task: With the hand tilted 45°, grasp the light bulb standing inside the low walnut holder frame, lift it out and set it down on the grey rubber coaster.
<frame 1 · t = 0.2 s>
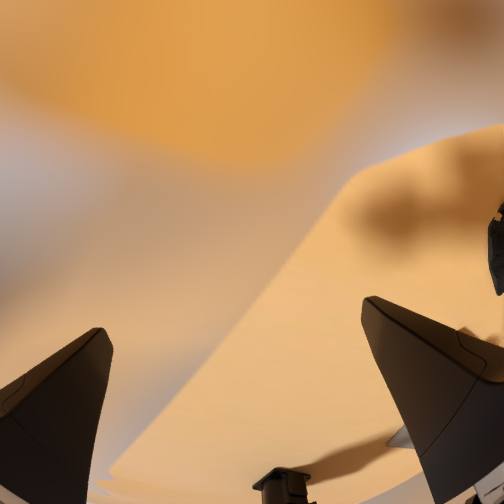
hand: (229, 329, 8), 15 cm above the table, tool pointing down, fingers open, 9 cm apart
black irregular lumpy piece: (502, 249, 25), on the table
coaster: (429, 422, 28), on the table
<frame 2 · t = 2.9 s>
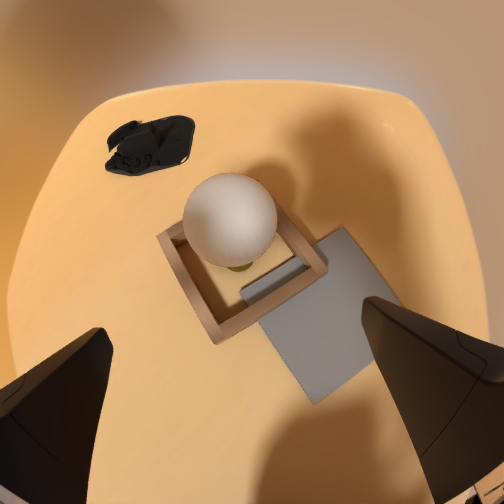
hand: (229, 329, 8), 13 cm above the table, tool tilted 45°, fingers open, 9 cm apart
black irregular lumpy piece: (150, 148, 31), on the table
light bulb: (239, 261, 24), resting in holder frame
coaster: (331, 311, 21), on the table
holder frame: (239, 260, 23), on the table
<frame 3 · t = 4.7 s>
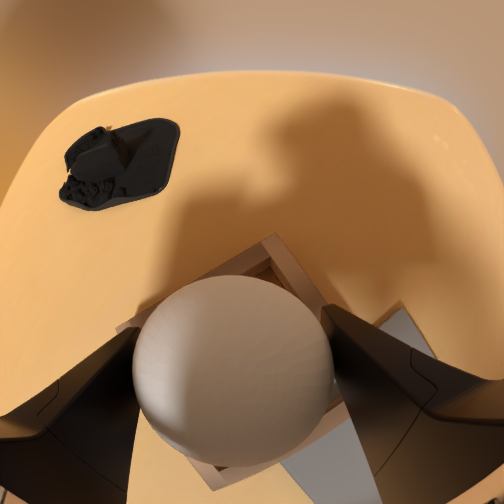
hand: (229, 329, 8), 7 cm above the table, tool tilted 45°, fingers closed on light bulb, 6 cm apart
black irregular lumpy piece: (118, 167, 21), on the table
light bulb: (247, 367, 14), resting in holder frame, touching gripper
coaster: (377, 431, 12), on the table
holder frame: (246, 367, 14), on the table
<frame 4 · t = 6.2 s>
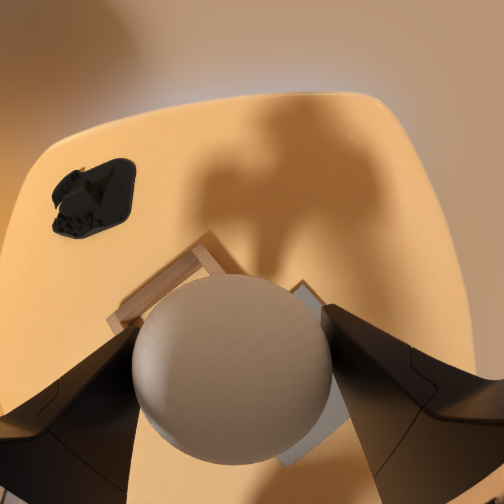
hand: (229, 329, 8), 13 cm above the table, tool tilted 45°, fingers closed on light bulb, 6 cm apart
black irregular lumpy piece: (94, 201, 27), on the table
light bulb: (245, 366, 14), point 6 cm above the table, touching gripper
coaster: (296, 379, 19), on the table
holder frame: (193, 335, 21), on the table
when the fingers open (8 cm above the table, at t = 7.9 s): light bulb stays where it is, resting on coaster.
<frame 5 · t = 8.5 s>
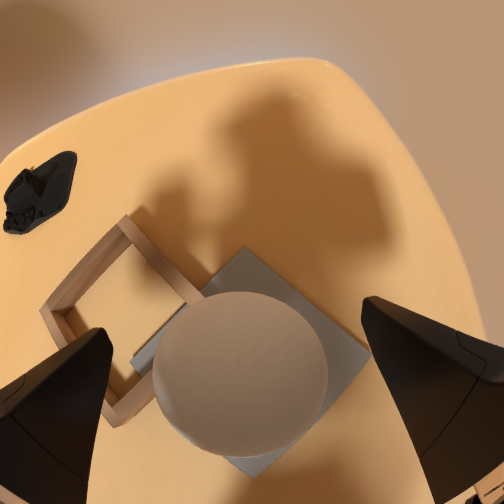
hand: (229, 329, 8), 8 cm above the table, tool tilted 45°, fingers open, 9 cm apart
black irregular lumpy piece: (40, 197, 23), on the table
light bulb: (249, 369, 15), resting on coaster
coaster: (248, 366, 16), on the table
holder frame: (124, 321, 17), on the table
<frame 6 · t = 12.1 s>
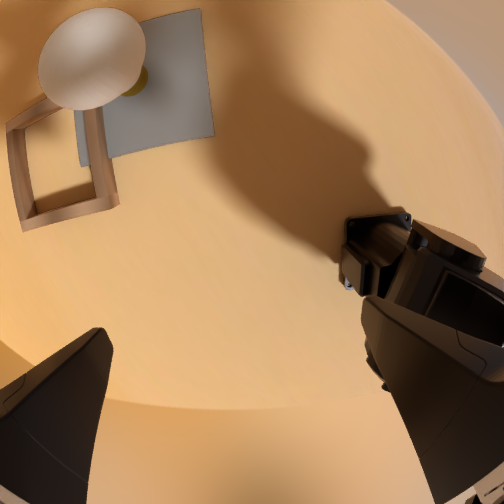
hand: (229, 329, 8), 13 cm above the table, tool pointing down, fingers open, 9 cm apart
light bulb: (136, 82, 16), resting on coaster
coaster: (135, 83, 16), on the table
holder frame: (59, 157, 17), on the table
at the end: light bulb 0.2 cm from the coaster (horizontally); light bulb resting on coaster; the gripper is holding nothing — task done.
